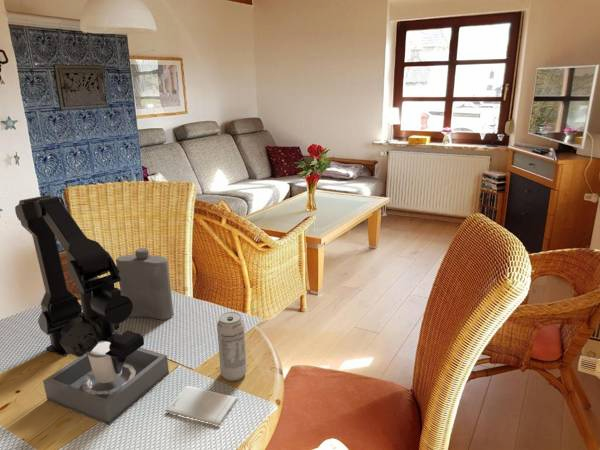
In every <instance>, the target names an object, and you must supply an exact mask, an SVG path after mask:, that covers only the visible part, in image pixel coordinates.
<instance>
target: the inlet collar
mask: <svg viewBox="0 0 600 450" xmlns="http://www.w3.org/2000/svg"><path fill="white" fill-rule="evenodd" d="M122 371H124V372H127V373H129V374H130V377H129V380H131V379H132V378H133V377H134V376H136V371H135V369H134V368H133V366H132V365H129V364H125V363H124V365H123V367H122ZM94 379H95V377H94V374H93V371H91V372H90V373H89V374H87V375H86V376H85V378H84V380H83V382H82V383H81V385H82V390H83V391H86V392H88V393H91V394H94V395H96V396H99V397H102V398H104V399H107V398H108V397H109V396H110V395H112V394H113V393H114V392H115V391H117V390H118V389H119V388H120V387H122V386H123V385H124V384H126V383H127V382H128V381H129V380H128V381H126V382H125V383H124V384H123V385H121V386H120V387H117V388H114V389H112V390H109V391H94V390H92V389H89V388H88V386H89V385H90V383H91V381H92V380H94Z"/></svg>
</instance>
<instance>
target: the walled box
mask: <svg viewBox="0 0 600 450" xmlns="http://www.w3.org/2000/svg"><path fill="white" fill-rule="evenodd" d="M168 361H169V360H168V355H167V354H163V353H159V352H157V351H154V350H150V349H147V348H144V347H142V346H141V347H140V348H138V349H137V350H136V351H134V352H133V353H132V354H130V355H129V356H127V357H126V359H125V362H124V363H125V364H129V365H132V366H133V368H134V369H135V371H136V376H134V377H133V378H132V379H131V380H129V377H130V374H129V373H127V372H124V371H122V374H121V376H120V377H119V378H118V379H116V380H114V381H111V382H108V383H99V382H97V381H96V380H95V379H94V380H92V381H91V383H90V385H89V386H88V388H89V389H92V390H94V391H109V390H112V389H114V388H117V387H120V386H121V385H123V384H124V383H125V382H126V381H128V380H129V381H128V382H127V383H126V384H124V385H123V386H122V387H120V388H119V389H118V390H117V391H115V392H114V393H113V394H112V395H110V396H109V397H108V398H107V399H104V398H102V397H99V396H96V395H94V394H91V393H88V392H86V391H83V390H82V385H81V383H82V382H83V380H84V378H85V376H86V375H87V374H89V373H90V372H91V371H93V370H92V367H91V364H90V361H89V357H88V356H87V354H86V353H85V354H84V355H83V356H81V357H77V358H76V359H74V360H72V361H71V362H70V363H68V364H66V365H64V366H63V367H62V368H60V369H59V370H57V371H56V372H54V373H53V374H50V375H49V376H48V377H46V378H45V379H43V380H42V382H43V386H44V387H43V388H44V392H45V396H46V400H47V401H49V402H51V403H53V404H56V405H58V406H61V407H63V408H66V409H68V410H70V411H73V412H76V413H78V414H80V415H84V416H86V417H88V418H91V419H93V420H95V421H98V422H100V423H103V424H106V425H108V426H110V425H111V424H112V423H113V422H114V421H116V420H117V419H118V418H120V416H122V415H123V414H124V413H125V412H126V411H127V410H128V409H130V408H131V407H132V406H134V405H135V403H137V402H138V401H140V399H141V398H143V397H144V396H145V395H146V394H148V392H149V390H150V391H151V390H152V389H153V388H154V387H155V386H156V384H157V383H158V382H159V383H160V382H161V381H163V378H164V377H165V378H166V377H167V376H169V374H170V372H169V371H170V370H169V363H168ZM165 378H164V379H165ZM159 383H158V384H159ZM158 384H157V385H158ZM151 388H152V389H151Z"/></svg>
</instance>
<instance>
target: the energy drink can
mask: <svg viewBox="0 0 600 450" xmlns="http://www.w3.org/2000/svg"><path fill="white" fill-rule="evenodd" d="M216 324H217V325H216V329H217V330H216V331H217V340H218V341H217V343H218V345H217V346H218V356H219V370H220V375H221V376H222V377H223V378H224V379H225V380H226V381H228V382H229V381H230V382H235V381H239V380H242V379H243V378H244V377H245V374H246V373H247V372H248V371H247V369H248V368H247V366H248V365H247V353H246V352H247V350H246V333H245V332H246V331H245V321H244V320H243V319H242V315H241V314H240V313H239V312H236V311H227V312H224V313H222V314H221V315H219V318H218V321H217V323H216Z"/></svg>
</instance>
